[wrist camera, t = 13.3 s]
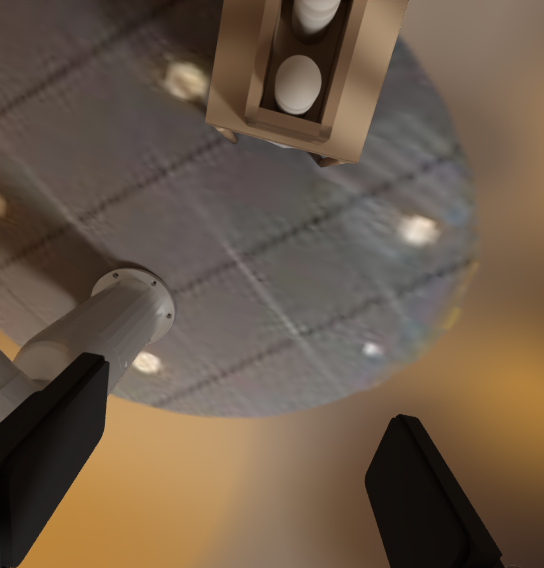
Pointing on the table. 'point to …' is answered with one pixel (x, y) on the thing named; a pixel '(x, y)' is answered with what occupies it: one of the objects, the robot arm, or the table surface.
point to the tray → (320, 55)
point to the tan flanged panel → (356, 93)
